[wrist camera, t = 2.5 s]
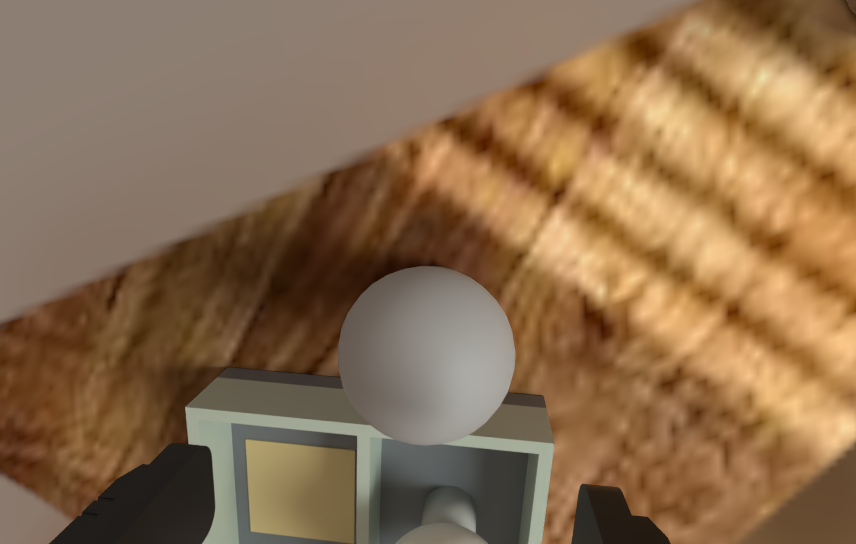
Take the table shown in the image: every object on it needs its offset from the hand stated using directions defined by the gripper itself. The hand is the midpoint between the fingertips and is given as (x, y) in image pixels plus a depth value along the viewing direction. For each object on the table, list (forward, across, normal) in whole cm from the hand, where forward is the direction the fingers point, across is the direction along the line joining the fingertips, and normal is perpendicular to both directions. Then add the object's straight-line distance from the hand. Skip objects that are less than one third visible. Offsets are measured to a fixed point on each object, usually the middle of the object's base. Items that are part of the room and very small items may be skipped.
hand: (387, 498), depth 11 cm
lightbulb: (+15, 0, 0) cm, 15 cm away
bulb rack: (+15, +3, +12) cm, 19 cm away
